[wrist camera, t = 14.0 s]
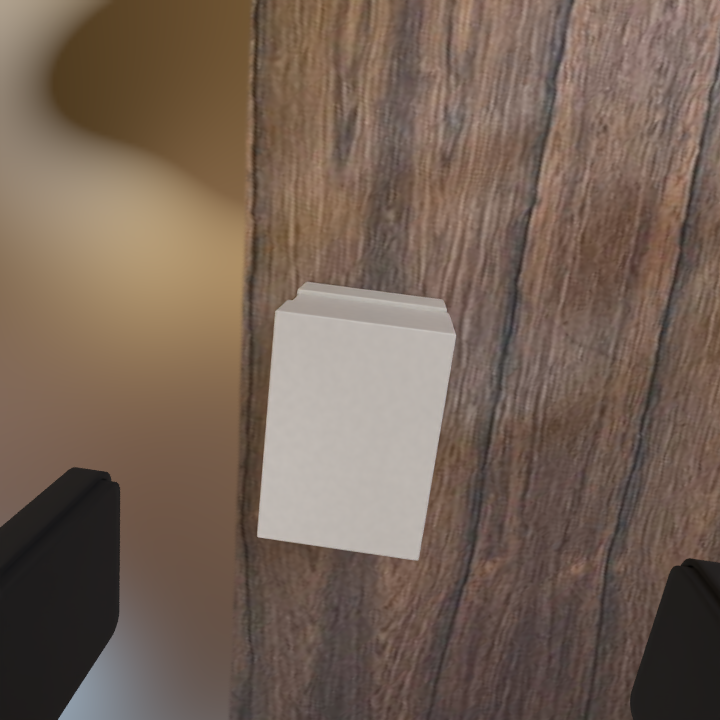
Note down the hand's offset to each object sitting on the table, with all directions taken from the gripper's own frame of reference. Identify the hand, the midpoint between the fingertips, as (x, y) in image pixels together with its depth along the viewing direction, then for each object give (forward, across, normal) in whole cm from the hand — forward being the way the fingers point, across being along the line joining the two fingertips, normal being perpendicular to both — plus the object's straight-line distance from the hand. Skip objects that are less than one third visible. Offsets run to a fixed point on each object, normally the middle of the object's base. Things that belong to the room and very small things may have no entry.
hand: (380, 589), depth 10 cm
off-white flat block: (+16, +1, +4) cm, 16 cm away
